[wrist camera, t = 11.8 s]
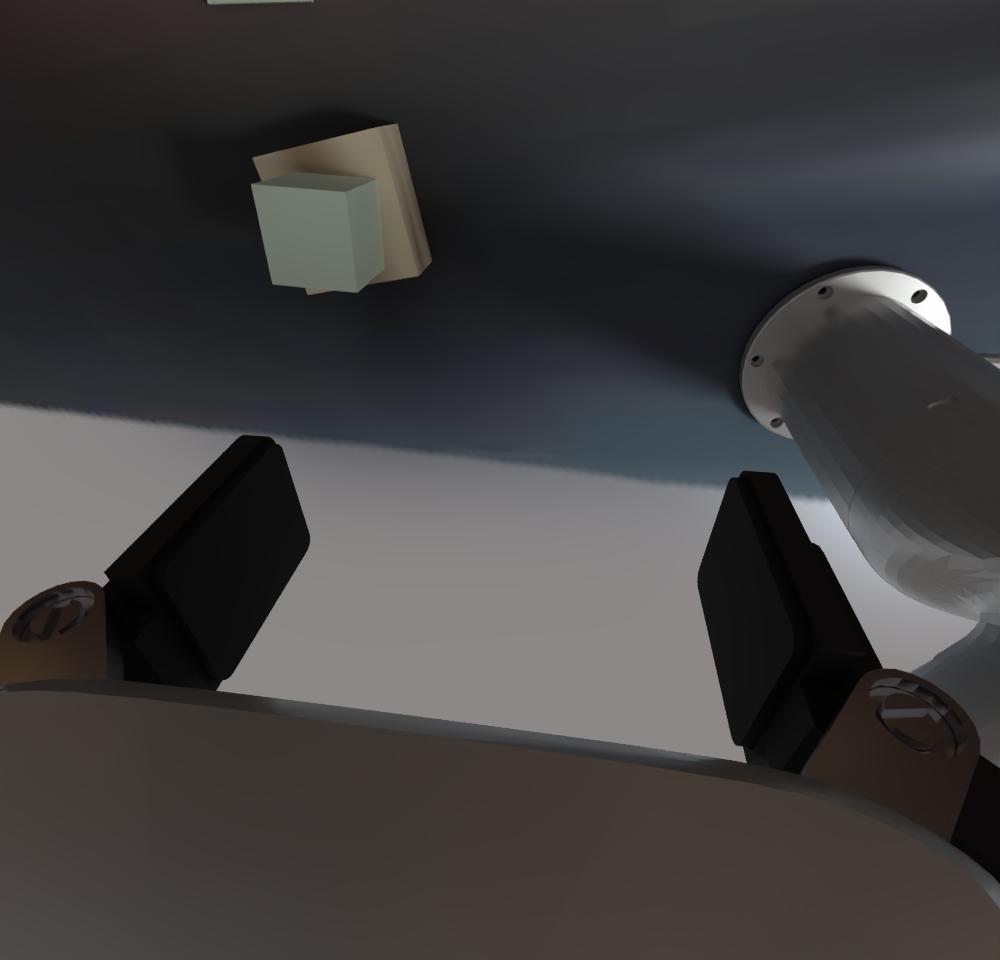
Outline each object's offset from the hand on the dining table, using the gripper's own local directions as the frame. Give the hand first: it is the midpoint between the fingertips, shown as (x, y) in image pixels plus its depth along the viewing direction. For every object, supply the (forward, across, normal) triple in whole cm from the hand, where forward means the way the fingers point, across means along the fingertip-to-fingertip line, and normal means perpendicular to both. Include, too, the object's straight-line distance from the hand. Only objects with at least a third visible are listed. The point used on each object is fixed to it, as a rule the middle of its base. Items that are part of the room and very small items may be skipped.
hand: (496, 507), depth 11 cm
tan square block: (+29, +13, -1) cm, 32 cm away
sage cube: (+25, +13, -1) cm, 28 cm away
